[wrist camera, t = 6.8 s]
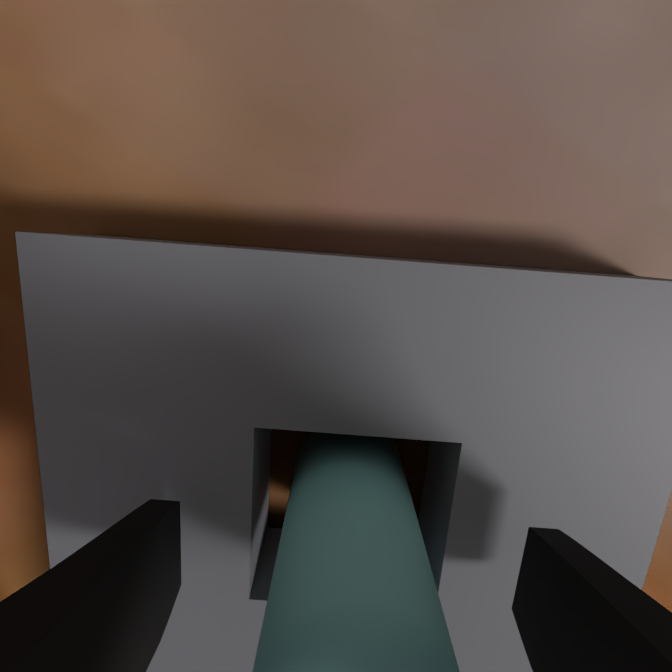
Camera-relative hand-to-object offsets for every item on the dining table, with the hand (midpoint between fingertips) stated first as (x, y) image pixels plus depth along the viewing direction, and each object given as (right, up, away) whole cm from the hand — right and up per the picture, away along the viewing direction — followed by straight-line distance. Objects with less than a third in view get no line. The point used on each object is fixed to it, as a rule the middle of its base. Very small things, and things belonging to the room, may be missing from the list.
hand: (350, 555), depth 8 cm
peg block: (0, +1, +3) cm, 3 cm away
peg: (0, +1, +3) cm, 3 cm away
